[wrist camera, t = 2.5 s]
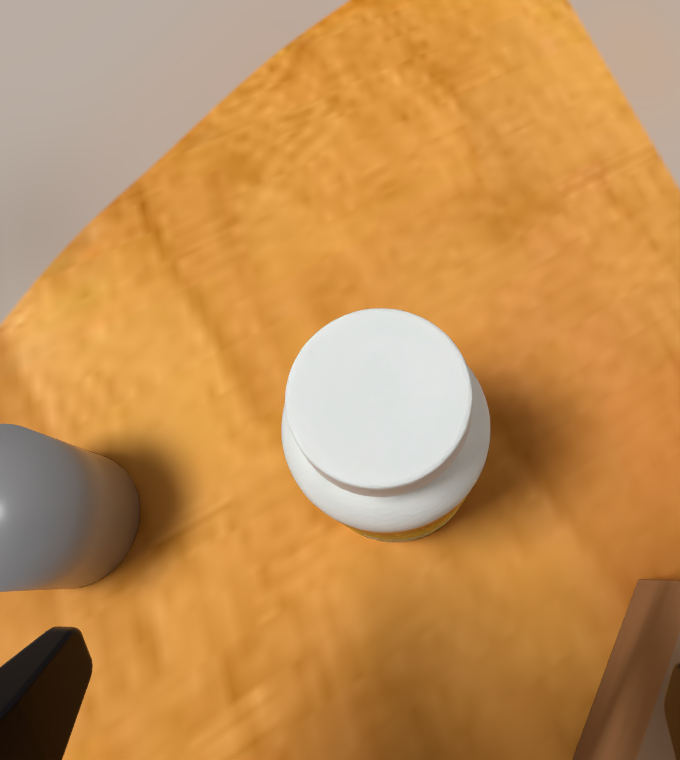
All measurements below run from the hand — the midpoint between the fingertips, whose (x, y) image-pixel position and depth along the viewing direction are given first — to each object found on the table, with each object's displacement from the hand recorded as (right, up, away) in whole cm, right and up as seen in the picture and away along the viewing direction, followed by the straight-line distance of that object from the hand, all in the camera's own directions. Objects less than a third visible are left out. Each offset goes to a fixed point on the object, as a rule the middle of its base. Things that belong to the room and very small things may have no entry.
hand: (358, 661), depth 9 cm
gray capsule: (-10, -1, +14) cm, 17 cm away
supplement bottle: (+2, +1, +13) cm, 13 cm away
